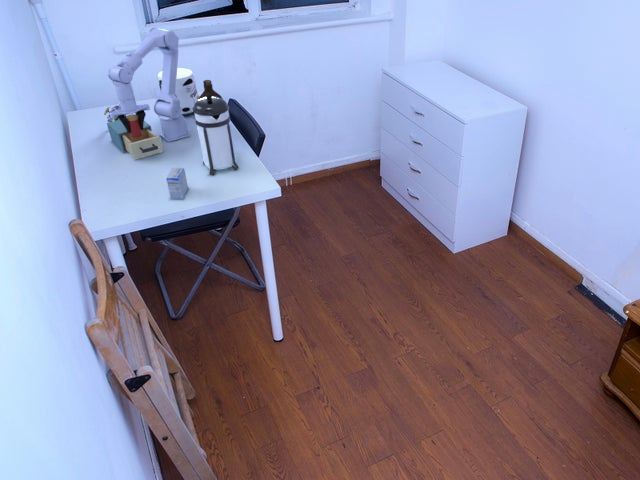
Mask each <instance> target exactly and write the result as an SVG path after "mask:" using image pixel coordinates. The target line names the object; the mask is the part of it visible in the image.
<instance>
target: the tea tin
mask: <svg viewBox="0 0 640 480" xmlns="http://www.w3.org/2000/svg"><path fill="white" fill-rule="evenodd" d="M126 118H127V119H128V125H129V128H130V132H131V133H130V136H131V137H132V138H138V137H141V136H142V131H141V127H140V123H139V119H138V118H139V117H138V115H136V114H135V113H134V114H127V115H126Z"/></svg>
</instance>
